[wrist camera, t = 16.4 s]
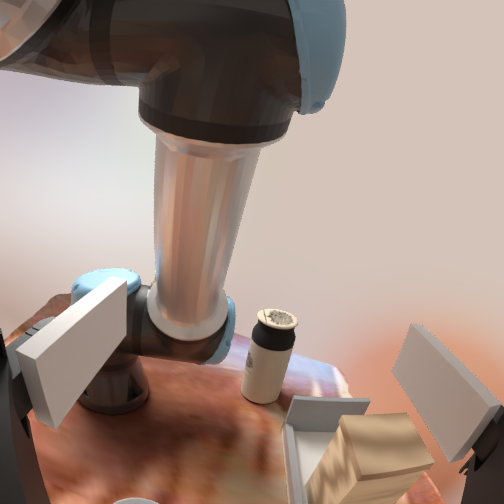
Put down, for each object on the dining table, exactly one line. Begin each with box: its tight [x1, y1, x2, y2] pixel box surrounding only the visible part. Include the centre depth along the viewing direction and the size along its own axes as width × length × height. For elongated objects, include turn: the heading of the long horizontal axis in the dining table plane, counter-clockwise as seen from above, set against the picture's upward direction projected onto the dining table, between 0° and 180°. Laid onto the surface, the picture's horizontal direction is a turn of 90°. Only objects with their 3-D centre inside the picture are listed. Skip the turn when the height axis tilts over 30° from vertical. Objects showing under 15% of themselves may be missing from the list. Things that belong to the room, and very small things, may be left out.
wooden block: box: [305, 413, 435, 504], centre depth 27 cm, size 9×9×16 cm
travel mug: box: [241, 309, 298, 404], centre depth 54 cm, size 8×8×18 cm
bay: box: [281, 395, 370, 504], centre depth 33 cm, size 26×14×9 cm, turn 0°
